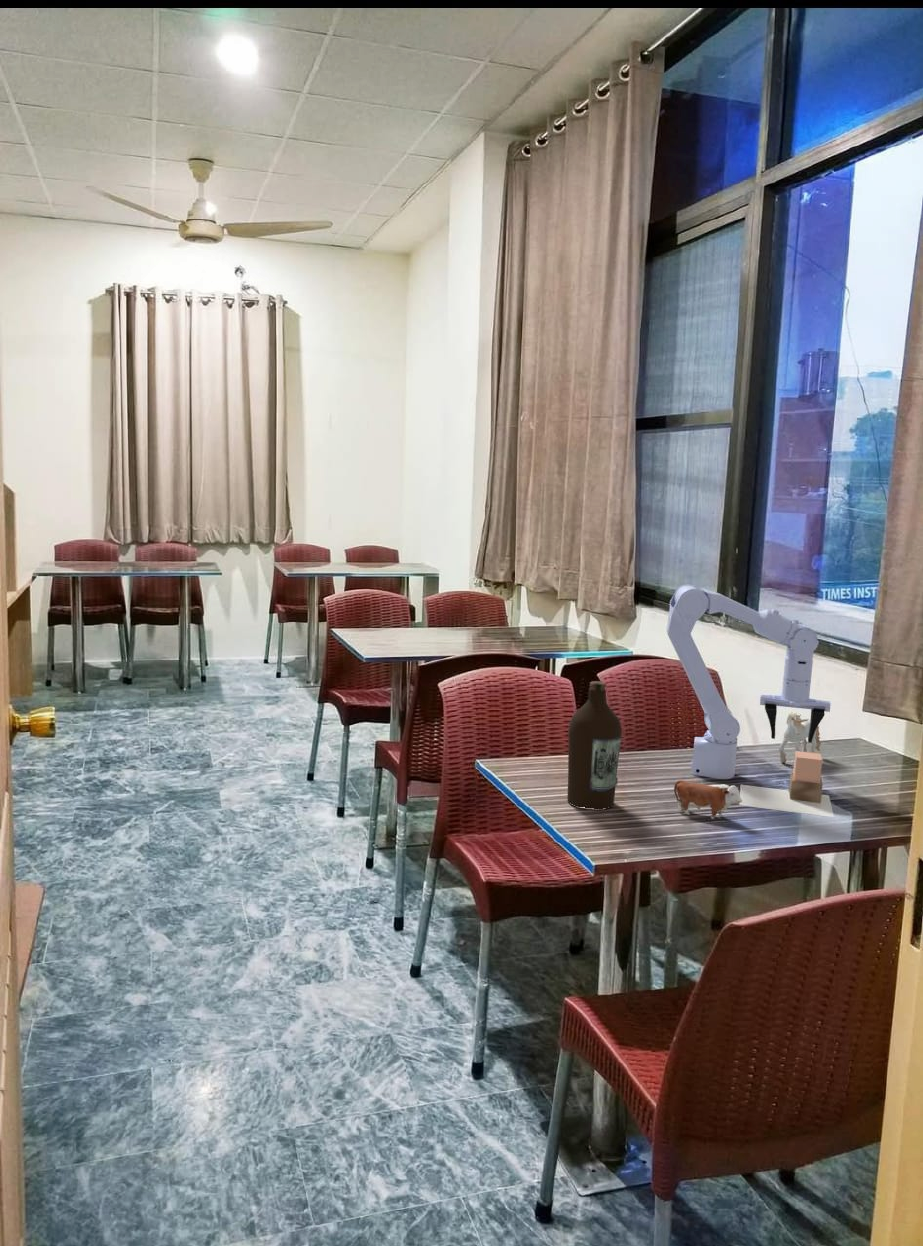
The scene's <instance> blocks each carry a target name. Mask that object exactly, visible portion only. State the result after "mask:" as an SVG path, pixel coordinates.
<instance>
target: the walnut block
mask: <svg viewBox="0 0 923 1246" xmlns="http://www.w3.org/2000/svg"><path fill="white" fill-rule="evenodd" d="M789 777H790V778H789V788H788V791H789V795H790V799H792V800H799V801H807V802H815V803H821V795H823V785H824V784H823V781H822V778H821V779H820V784H819V783H811V782H802V781H794V775H793V772H790V776H789Z"/></svg>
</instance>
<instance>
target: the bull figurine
mask: <svg viewBox="0 0 923 1246" xmlns="http://www.w3.org/2000/svg"><path fill="white" fill-rule="evenodd" d="M673 791H674V796H675V798H676V805H677V808H678V809H677V810H678V811H679V812H682V811H684V814H685V815H691V813H690V811H689V805H690V803H692V804H694V805H695V807H696V808H697V810H700V809H701V807H703V808H704V807H705V808H711V816H710V819H712V820H715V817H716V816H717V814H718V817H720V818H722V817H724V816H723V811H726V810H727V809H729V808H730V806H731V805H733V804H740V803H741V802H742V799H741V798H740V786H736V785H731V786H729V785H728V784H719V785H718V784H711V785H710V784H703V783H697V782H692V781H688V780H687V781H686V780H678V781H676V783H675V784H674V787H673Z"/></svg>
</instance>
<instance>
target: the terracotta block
mask: <svg viewBox="0 0 923 1246" xmlns="http://www.w3.org/2000/svg"><path fill="white" fill-rule="evenodd" d="M794 752H795V753H794V762H793V763H794V764H793V771H792V773H793V775H794V781H802V782H811V783H819V784H820V779H821V780H822V768H823V767H822V766H823V758H822V754H821V753H817V752H815V753H810V751H809V752H808V751H807V752H802V750H801V751H796V750H795V751H794Z"/></svg>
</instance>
